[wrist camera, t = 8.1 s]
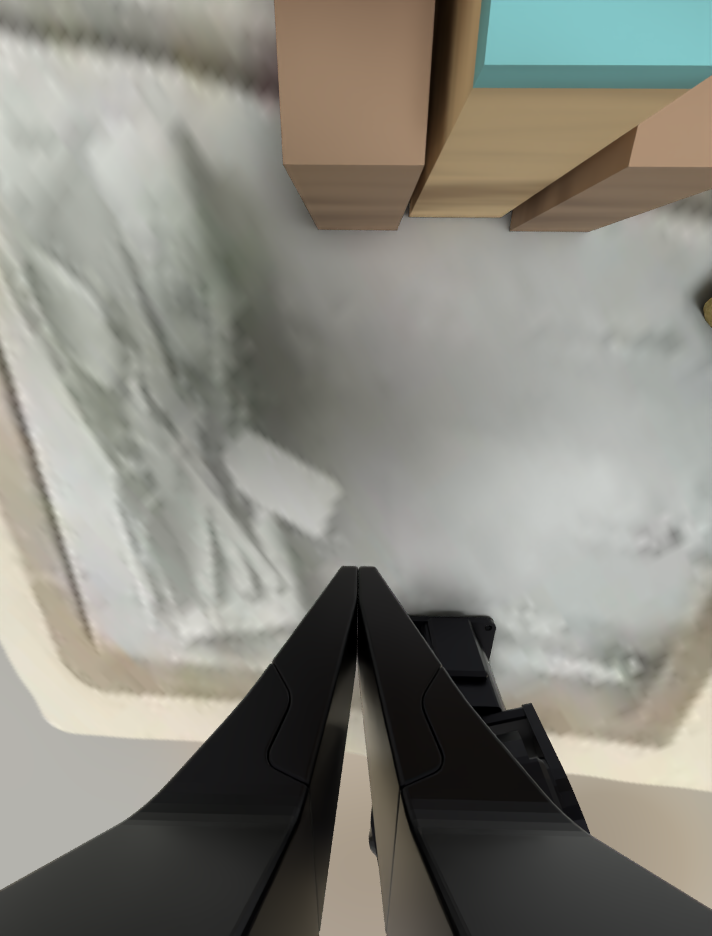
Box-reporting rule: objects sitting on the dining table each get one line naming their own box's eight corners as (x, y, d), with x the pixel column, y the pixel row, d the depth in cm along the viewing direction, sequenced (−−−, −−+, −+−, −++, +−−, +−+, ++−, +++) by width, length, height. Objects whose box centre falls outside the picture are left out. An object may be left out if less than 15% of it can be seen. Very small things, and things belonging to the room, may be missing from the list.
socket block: (588, 231, 16) (772, 167, 9) (318, 229, 17) (283, 164, 9) (645, -29, 13) (995, -450, 6) (311, -29, 13) (250, -441, 6)
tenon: (500, 217, 16) (726, 65, 6) (408, 216, 16) (484, 64, 6) (526, 27, 14) (957, -718, 4) (419, 27, 14) (567, -708, 4)
